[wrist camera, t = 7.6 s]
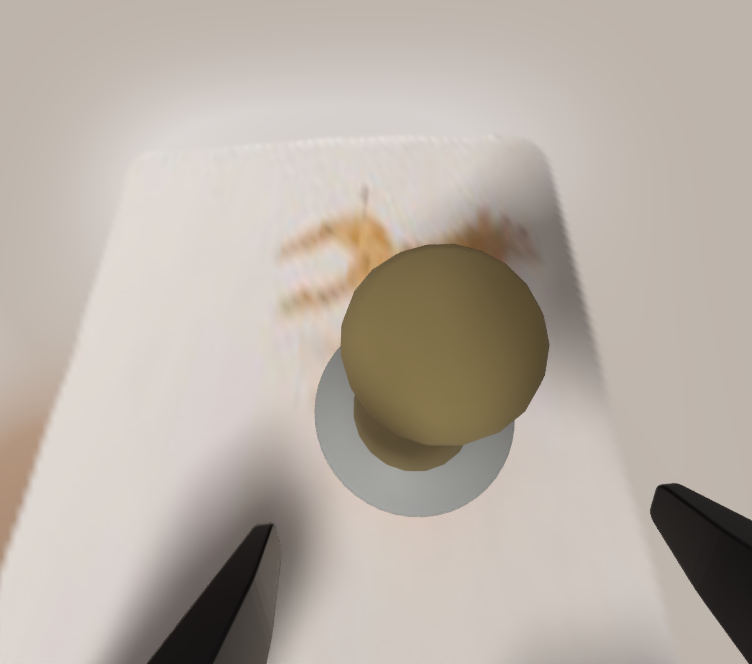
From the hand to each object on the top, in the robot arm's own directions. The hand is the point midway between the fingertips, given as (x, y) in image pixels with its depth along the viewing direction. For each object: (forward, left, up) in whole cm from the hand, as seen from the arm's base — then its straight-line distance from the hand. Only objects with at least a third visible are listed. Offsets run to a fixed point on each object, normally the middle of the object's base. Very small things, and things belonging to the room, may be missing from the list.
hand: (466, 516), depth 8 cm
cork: (+4, +1, -9) cm, 10 cm away
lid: (+4, +1, -9) cm, 10 cm away
